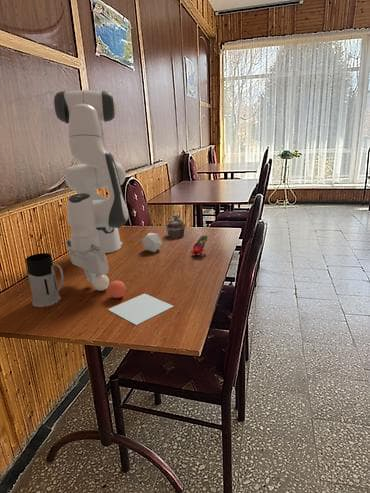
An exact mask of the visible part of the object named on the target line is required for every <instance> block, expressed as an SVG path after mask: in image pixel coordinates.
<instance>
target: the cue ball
mask: <svg viewBox="0 0 370 493" xmlns="http://www.w3.org/2000/svg"><path fill="white" fill-rule="evenodd" d="M109 284H110V280H109V277H108V275H107V274H104V275H101V276H99V275H97V274H96V276H95V277H94V278H93V280H92V282H91V285H92V286H93V289H95V291H105V290H106V289H108V286H109Z"/></svg>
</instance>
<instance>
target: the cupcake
mask: <svg viewBox="0 0 370 493" xmlns="http://www.w3.org/2000/svg"><path fill="white" fill-rule="evenodd" d="M165 227H166V228H165V229H166V231H167V235H168V237H169V238H172V239H173V238H174V239H177V238H182V237H184V236H185V229H186V223H184V220H183V219H182V216H181V215H171V216H170V218H169V220H168V222H167V225H166V226H165Z"/></svg>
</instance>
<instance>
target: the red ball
mask: <svg viewBox="0 0 370 493" xmlns="http://www.w3.org/2000/svg"><path fill="white" fill-rule="evenodd" d="M126 289H127V288H126V285H125V283H124V282H123V281H121V280H113V281H112V282H109V285H108V287H107V292H108V294H109V296H110V297H112V298H114V299H119V298H122V297H123V296H125V293H126V291H127V290H126Z"/></svg>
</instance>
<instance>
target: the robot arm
mask: <svg viewBox="0 0 370 493" xmlns="http://www.w3.org/2000/svg"><path fill="white" fill-rule="evenodd" d="M52 103H53V104H52V105H53V106H52V108H53V111H54V114H55V115H56V118H57V119H58V120H59V121H60V122H63V123H65V124H67V125H68V142H69V143H68V144H69V149H70V153H71V155H72V156H73V158H74V159H75V160H77V161H78V162H79V163H81V164H79V163H78V164H76V165H71V166H69V167H67V169H66V170H65V173H64V181H65V184H66V185H67V186H68V188H69V189H71V190H73V191H74V192H76V194H72V195H71V196H69V197H68V198H67V202H66V203H67V204H66V205H67V206H66V210H67V221H68V225H69V227H70V238H69V239H65V243H66V246H67V247H68V255H69V259H70V262H71V263H72V265H75V266H77V267H79V268H82V269H83V272H84V274H85V277H86V280H87V281H88V282H90V283H92V280H93V278H94V277H95V276H96V275H99V276H101V275H107V274H108V273H109V270H110V269H109V263H108V258H107V255H106V254H109V253H113V252H116V251H119V250H120V249H121V248H122V245H124V244H123V241H121V238H120V232H119V229H120V228H122V227H123V226H124V225H126V223H127V222H128V220H129V210H128V207H127V203H126V200H125V197H124V193H123V190H122V185H123V184H124V182H125V180H126V177H127V176H126V175H127V174H126V170H125V167H124V165H122V164H121V163H120V162H119V161H116V160H115V159H114V157H113V154H112V153H111V152H110V151H109V150H108V148H107V147H108V146H107V142H106V132H105V125H104V123H106V122H110V121H113V120H114V119H115V116H116V113H117V109H118V106H117V101H116V100H115V98H114V94H112V92H110V91H107V90H93V89H84V90H81V89H80V90H68V91H66V90H63V91H59V92H57V93H55V95H54V98H53V102H52ZM99 189H107V192H108V194H109V198H108V197H106V196H104V195H101V194H98V192H97V190H99Z"/></svg>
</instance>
